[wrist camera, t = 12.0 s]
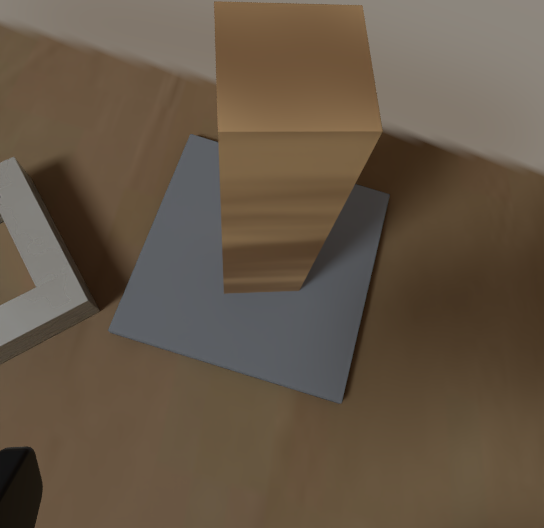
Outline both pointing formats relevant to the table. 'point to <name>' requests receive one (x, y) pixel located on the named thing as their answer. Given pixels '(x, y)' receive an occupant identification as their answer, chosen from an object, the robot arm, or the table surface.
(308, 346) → the grey square plate
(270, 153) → the tall wooden block
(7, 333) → the white square ring
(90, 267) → the table surface
